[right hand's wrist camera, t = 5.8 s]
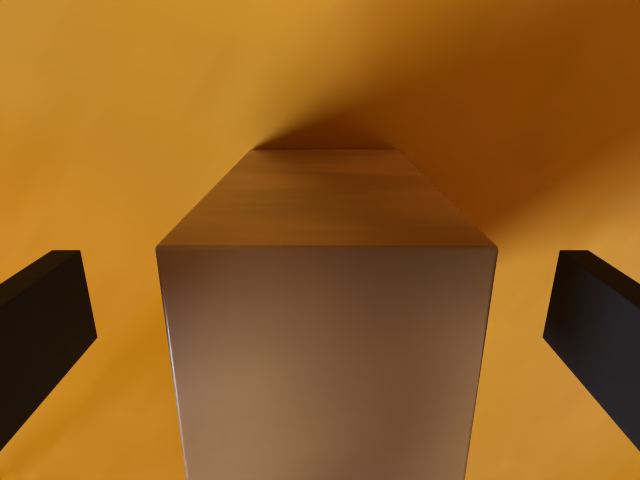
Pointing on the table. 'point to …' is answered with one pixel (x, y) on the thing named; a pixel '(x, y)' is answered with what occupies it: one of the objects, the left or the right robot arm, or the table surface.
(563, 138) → the table surface
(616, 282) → the right robot arm
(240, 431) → the brick
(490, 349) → the table surface
